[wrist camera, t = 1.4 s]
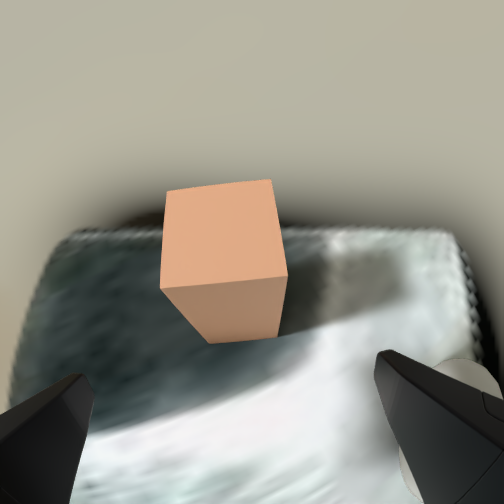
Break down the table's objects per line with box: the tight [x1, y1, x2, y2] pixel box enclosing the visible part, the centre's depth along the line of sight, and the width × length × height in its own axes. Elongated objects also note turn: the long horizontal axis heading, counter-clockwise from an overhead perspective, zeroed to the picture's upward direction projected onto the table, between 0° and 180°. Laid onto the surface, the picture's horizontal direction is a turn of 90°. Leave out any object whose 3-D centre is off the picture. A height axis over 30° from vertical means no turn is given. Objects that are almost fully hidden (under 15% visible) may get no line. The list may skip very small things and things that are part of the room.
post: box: [160, 179, 288, 344], centre depth 17 cm, size 5×5×11 cm
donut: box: [399, 359, 503, 503], centre depth 12 cm, size 10×4×10 cm, turn 173°
